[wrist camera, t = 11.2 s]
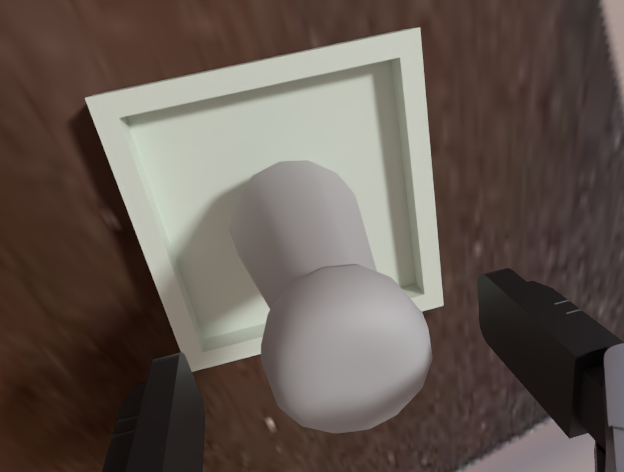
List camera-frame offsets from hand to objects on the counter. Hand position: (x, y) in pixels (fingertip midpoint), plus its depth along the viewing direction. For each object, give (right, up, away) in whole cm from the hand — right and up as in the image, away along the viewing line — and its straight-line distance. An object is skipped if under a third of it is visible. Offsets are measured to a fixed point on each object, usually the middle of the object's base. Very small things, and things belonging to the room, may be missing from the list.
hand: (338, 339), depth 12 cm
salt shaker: (-2, +4, +11) cm, 12 cm away
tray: (-2, +4, +11) cm, 12 cm away
